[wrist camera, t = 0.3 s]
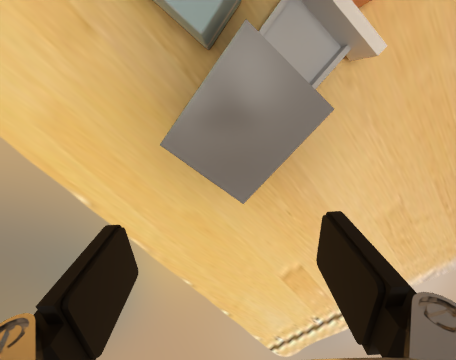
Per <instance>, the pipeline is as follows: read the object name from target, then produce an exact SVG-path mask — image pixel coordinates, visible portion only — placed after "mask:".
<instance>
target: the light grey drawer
mask: <svg viewBox="0 0 456 360" xmlns="http://www.w3.org/2000/svg"><path fill="white" fill-rule="evenodd" d="M258 32H259V33H260V34H261V35H262V36H263V37H264V38H265V39H266V40H267V41H268V42H269V43H270V44H271V45H272V46H273V47H274V48H275V49H276V50H277V51H278V52H279V53H280V54H281V55H282V56H283V57H284V58H285V59H286V60H287V61H288V62H289V63H290V64H291V65H292V66H293V67H294V68H295V69H296V70H297V71H298V72H299V73H300V74H301V76H302V77H303V78H304V79H305V80H306V81H307V82H308V83H309V84H310V85H311V86H312V87H313V88H314V89H316V88H317V87H318V86H319V85H320V84H321V82H322V81H323V80H324V79H325V78H326V77H327V76H328V75H329V73H330V72H331V71H332V70H333V69H334V68H335V67H336V66H337V64H338V63H339V62H340V61H341V60H342V59H343V58H344V57H345V56H347V58H348V59H349V60H350V61H354V60H359V59H364V58H369V57H374V56H378V55H379V54H380V53H381V52H382V51H383V50H384V49H385V48H386V47H387V44H386V43H385V42H384V41H383V39H382V38H381V37H380V36H379V34H378V33H377V32H376V30H375V29H374V28H373V27H372V25H371V24H370V23H369V22H368V20H367V19H366V18H365V16H364V15H363V14H362V13H361V11H360V10H359V9H358V7H357V6H356V5H355V4H354V2H353V1H352V0H281V1H280V2H279V4H278V5H277V6H276V8H275V9H274V11H273V12H272V13H271V15H270V16H269V18H268V19H267V20H266V22H265V23H264V24H263V26H262V27H261V29H260V30H259V31H258Z"/></svg>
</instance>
